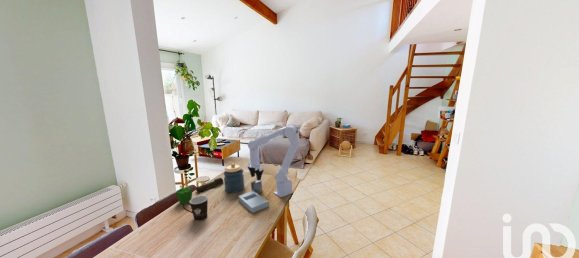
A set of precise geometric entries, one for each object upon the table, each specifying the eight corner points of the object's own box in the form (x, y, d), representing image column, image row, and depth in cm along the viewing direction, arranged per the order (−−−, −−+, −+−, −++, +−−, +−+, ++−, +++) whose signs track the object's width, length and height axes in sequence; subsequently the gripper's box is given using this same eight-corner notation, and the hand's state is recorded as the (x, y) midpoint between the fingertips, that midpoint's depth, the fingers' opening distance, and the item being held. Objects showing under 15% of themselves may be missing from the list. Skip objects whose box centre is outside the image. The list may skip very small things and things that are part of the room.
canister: (248, 186, 144) (247, 162, 141) (234, 194, 134) (232, 168, 130) (235, 182, 151) (233, 159, 148) (220, 190, 140) (218, 164, 137)
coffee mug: (213, 213, 113) (211, 196, 112) (201, 223, 105) (199, 205, 104) (195, 210, 117) (193, 193, 115) (183, 219, 109) (180, 201, 107)
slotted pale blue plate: (253, 195, 132) (253, 190, 132) (268, 206, 119) (268, 201, 118) (238, 200, 126) (238, 196, 126) (252, 213, 113) (252, 207, 112)
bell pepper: (195, 201, 127) (193, 186, 125) (180, 207, 121) (178, 191, 119) (190, 197, 133) (188, 182, 131) (175, 202, 127) (173, 186, 125)
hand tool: (198, 193, 137) (197, 187, 136) (195, 191, 140) (195, 185, 139) (225, 184, 150) (224, 178, 149) (222, 182, 153) (222, 176, 152)
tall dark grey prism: (259, 189, 140) (259, 179, 139) (262, 191, 138) (261, 180, 136) (251, 192, 136) (251, 182, 135) (253, 193, 134) (253, 183, 133)
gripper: (243, 156, 136) (245, 176, 138) (254, 162, 125) (256, 184, 127) (253, 154, 140) (254, 173, 143) (265, 159, 129) (266, 180, 131)
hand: (256, 178), depth 135 cm, fingers open, 7 cm apart
